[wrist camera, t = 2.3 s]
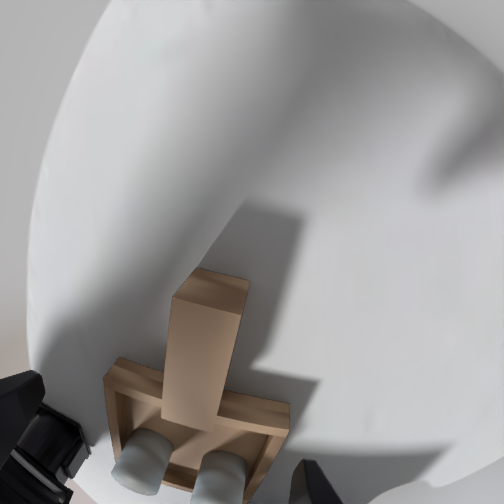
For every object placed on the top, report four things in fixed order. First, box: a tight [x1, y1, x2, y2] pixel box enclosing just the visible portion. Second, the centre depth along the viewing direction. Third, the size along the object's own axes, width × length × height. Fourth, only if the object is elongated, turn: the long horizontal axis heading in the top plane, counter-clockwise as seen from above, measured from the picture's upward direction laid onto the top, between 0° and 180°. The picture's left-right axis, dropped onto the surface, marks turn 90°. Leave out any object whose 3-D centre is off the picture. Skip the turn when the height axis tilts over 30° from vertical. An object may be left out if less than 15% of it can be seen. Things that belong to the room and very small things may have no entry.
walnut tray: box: [103, 268, 290, 504], centre depth 16 cm, size 12×20×6 cm, turn 167°
